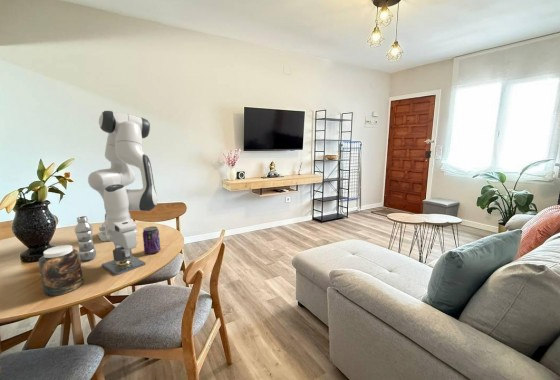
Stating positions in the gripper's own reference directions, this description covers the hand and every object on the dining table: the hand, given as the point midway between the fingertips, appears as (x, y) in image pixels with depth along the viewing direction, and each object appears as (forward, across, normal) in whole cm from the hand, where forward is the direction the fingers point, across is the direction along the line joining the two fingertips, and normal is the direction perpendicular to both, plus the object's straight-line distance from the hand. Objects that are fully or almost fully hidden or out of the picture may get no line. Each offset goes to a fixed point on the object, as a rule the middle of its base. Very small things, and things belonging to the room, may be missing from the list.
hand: (123, 253), depth 115 cm
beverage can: (+6, -4, +15) cm, 16 cm away
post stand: (+5, 0, 0) cm, 5 cm away
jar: (+6, 0, -21) cm, 22 cm away
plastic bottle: (+6, -20, -7) cm, 22 cm away
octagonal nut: (+2, 0, 0) cm, 2 cm away
